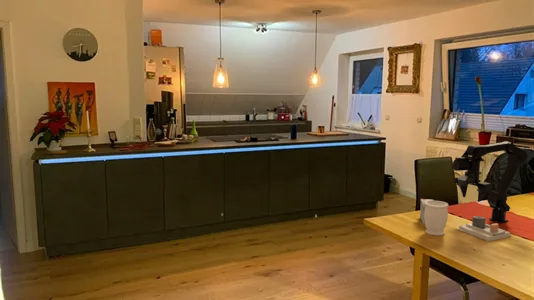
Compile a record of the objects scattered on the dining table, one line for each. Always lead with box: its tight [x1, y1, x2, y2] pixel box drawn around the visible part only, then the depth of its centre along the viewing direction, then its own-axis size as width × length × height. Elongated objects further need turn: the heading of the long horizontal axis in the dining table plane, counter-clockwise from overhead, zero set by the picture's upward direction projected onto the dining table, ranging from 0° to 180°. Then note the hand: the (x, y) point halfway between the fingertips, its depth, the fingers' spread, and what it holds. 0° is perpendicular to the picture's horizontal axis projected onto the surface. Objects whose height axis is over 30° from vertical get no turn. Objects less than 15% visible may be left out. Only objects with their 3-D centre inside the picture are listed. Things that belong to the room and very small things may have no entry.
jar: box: [424, 200, 449, 237], centre depth 199 cm, size 11×10×15 cm
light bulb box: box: [419, 198, 435, 225], centre depth 217 cm, size 11×7×11 cm, turn 169°
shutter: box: [483, 222, 506, 235], centre depth 194 cm, size 6×6×4 cm
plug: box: [471, 215, 486, 229], centre depth 202 cm, size 4×4×7 cm
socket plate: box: [458, 222, 511, 242], centre depth 199 cm, size 14×17×3 cm
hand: (471, 199), depth 213 cm, fingers open, 9 cm apart
